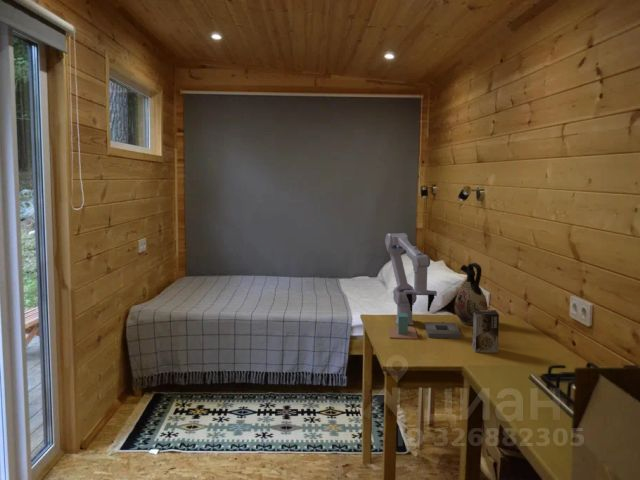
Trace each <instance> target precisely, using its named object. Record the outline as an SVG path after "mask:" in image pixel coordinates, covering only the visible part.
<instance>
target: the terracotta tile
mask: <svg viewBox="0 0 640 480" xmlns="http://www.w3.org/2000/svg"><path fill="white" fill-rule="evenodd" d="M388 333H389V334H388V335H389V339H390V338H395V340H396V339H397V340H418V334H417V332H416V328H415V327H412V326H411V327H409V326H408V334H398V326H388Z"/></svg>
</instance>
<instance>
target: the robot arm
mask: <svg viewBox="0 0 640 480" xmlns="http://www.w3.org/2000/svg"><path fill="white" fill-rule="evenodd" d="M384 243H385V248H386V251H387V252H388V253H389V256H390V261H391V264H392V265H391V266H392V268H393V269H392V270H393V273H394V277H395V282H396V287H395V288H394V289H393V290H392V291H393V301H394V303H395V304H396V305H397V307H396V309H397V311H396V318H395V324H396V325H398V313H407V315H408V326H410V325H414V320H413V306H414V305H415V303H416V301H417V298H418V297H417V296H427V307H426V308H427V312H430V310H431V306H432V303H433V302H434V301H435V297H437V295H438V292H437V290H429V289H428V268H429V267H430V266H431V258H430V256H429V255H428V254H424V253H423V252H421V251H420V249H419V248H418V247H417V246H416V245H415V246H414V245H412V244H411V242H410V241H409V237H408V235H407V233H406V232H402V233H387V234H386V235H385V239H384ZM404 251H405V253H406V256H407V257H408V258H409V259H410V260H411V264H412V268H413V269H412V270H413V272H414V279H413V282H414V283H413V284H414V285H413V286H412V285H411V284H409V283H408V278H407V275H406V271H405V267H404V262H403V259H402V252H404Z"/></svg>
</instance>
